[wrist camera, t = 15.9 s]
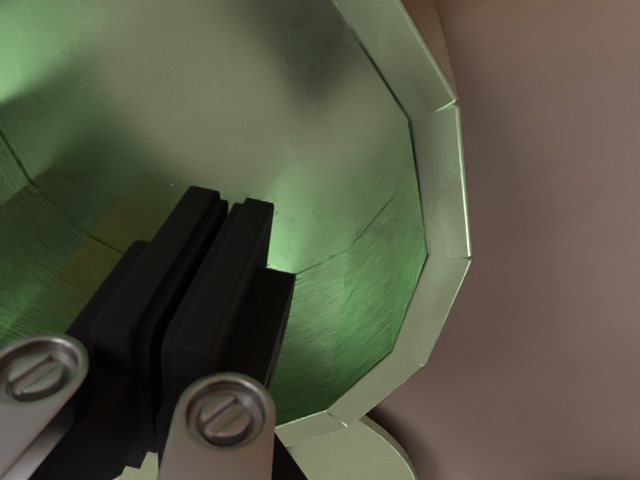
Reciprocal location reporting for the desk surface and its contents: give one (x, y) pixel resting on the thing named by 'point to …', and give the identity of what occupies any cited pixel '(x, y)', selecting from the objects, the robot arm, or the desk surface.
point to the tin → (243, 170)
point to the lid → (332, 456)
